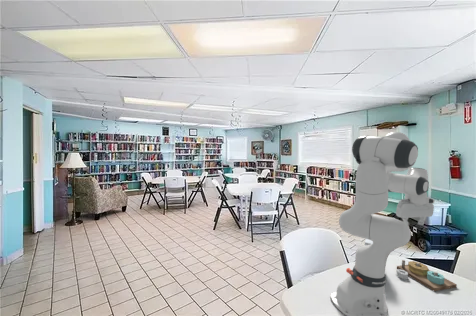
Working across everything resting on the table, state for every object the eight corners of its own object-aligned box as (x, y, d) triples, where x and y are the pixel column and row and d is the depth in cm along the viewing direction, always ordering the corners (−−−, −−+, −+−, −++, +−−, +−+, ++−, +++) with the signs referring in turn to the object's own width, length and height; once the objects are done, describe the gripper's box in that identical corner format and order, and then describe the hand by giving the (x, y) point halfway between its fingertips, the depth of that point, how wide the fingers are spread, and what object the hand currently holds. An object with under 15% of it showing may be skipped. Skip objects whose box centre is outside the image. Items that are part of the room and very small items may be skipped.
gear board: (434, 291, 103) (435, 280, 103) (396, 268, 121) (397, 259, 121) (456, 287, 106) (457, 276, 106) (416, 265, 125) (417, 256, 124)
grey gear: (404, 280, 111) (405, 275, 111) (394, 275, 115) (395, 270, 115) (409, 277, 113) (409, 273, 113) (399, 273, 117) (399, 268, 117)
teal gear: (437, 285, 105) (437, 279, 105) (424, 277, 111) (424, 271, 111) (446, 283, 107) (447, 277, 106) (433, 276, 112) (433, 270, 112)
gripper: (405, 200, 108) (403, 228, 109) (437, 199, 113) (435, 226, 113) (393, 197, 114) (391, 223, 115) (424, 197, 119) (422, 222, 119)
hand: (413, 225), depth 114 cm, fingers open, 8 cm apart
